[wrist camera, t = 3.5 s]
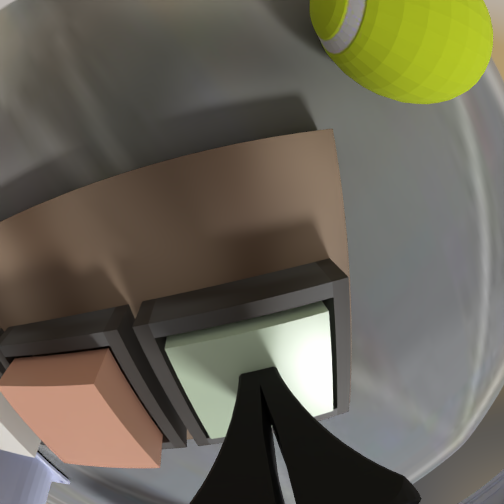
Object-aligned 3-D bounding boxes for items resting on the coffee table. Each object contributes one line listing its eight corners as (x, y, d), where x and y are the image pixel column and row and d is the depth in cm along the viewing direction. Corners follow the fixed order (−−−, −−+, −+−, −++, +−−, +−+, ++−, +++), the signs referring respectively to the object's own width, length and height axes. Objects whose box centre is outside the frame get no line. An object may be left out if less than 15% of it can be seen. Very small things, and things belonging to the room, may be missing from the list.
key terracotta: (73, 435, 11) (64, 462, 9) (14, 358, 9) (-4, 385, 7) (162, 434, 12) (160, 467, 10) (108, 348, 10) (93, 383, 8)
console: (16, 420, 15) (3, 448, 11) (-74, 263, 10) (-102, 283, 7) (341, 385, 16) (361, 424, 13) (318, 130, 11) (355, 126, 8)
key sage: (209, 407, 13) (211, 438, 11) (170, 317, 11) (164, 348, 9) (320, 382, 13) (333, 410, 11) (311, 285, 11) (328, 311, 9)
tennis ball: (283, -27, 8) (335, -119, 2) (410, 4, 9) (498, -36, 3) (291, 103, 10) (381, 58, 4) (424, 120, 11) (538, 124, 5)
